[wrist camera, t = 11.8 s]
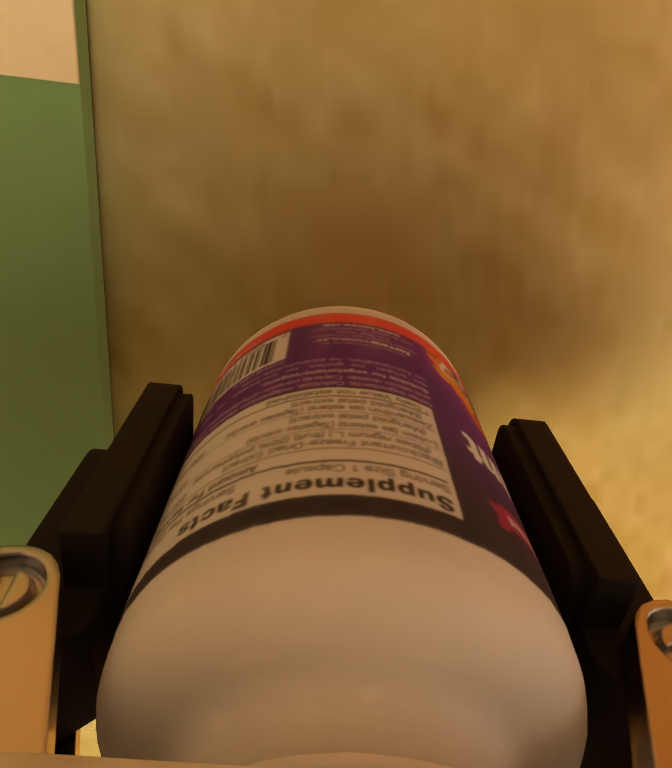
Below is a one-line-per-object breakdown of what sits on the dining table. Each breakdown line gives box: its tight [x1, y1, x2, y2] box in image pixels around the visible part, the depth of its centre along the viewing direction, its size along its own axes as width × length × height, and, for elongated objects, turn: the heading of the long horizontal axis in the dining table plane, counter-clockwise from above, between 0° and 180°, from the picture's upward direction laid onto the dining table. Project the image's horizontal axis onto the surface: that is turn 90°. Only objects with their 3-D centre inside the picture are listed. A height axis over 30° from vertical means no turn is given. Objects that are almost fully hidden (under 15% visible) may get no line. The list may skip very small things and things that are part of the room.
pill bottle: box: [96, 306, 587, 768], centre depth 8 cm, size 5×5×10 cm
